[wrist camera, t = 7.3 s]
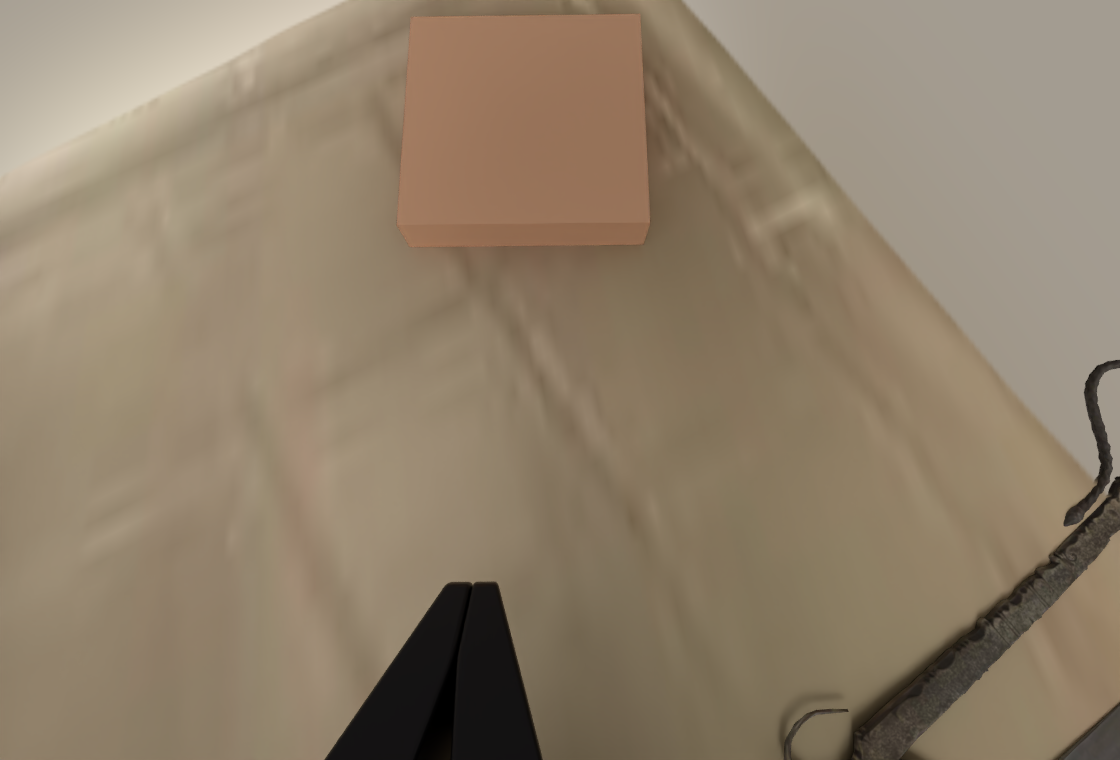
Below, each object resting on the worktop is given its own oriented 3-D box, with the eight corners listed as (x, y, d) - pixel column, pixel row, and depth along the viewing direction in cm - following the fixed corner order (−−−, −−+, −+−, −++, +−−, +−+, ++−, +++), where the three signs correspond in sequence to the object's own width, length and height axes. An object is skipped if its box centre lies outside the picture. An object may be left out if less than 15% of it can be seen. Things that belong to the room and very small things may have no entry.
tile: (650, 222, 21) (640, 14, 23) (396, 224, 21) (410, 16, 23) (642, 249, 23) (633, 56, 26) (412, 251, 23) (424, 59, 26)
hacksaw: (841, 1002, 17) (866, 1048, 16) (649, 707, 19) (656, 723, 18) (1332, 558, 20) (1392, 562, 19) (1119, 342, 22) (1158, 331, 21)
